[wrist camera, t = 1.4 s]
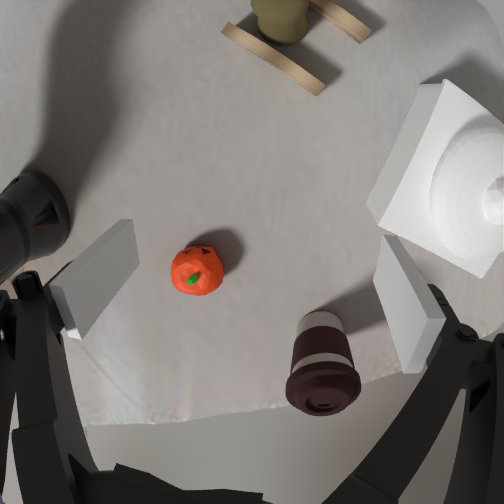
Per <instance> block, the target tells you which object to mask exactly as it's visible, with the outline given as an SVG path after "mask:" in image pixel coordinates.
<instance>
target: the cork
mask: <svg viewBox="0 0 504 504" xmlns="http://www.w3.org/2000/svg"><path fill="white" fill-rule="evenodd" d="M251 6H252V8H253V11H254V13H255V14H256V15H257V16H258V18H257V28H258V30H259V32H260V34H261V35H262V37H263V38H264V39H265V40H267V41H268V42H270V43H272V44H275V45H279V46H288V45H292V44H295V43H297V42H298V41H300V40H302V38H303V37H304V36H305V35H306V33H307V30H308V19H307V16H306V12H307V9H308V6H309V0H251Z"/></svg>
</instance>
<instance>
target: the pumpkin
mask: <svg viewBox="0 0 504 504" xmlns="http://www.w3.org/2000/svg"><path fill="white" fill-rule="evenodd" d="M171 276H172V282H173V284H174V286H175V287H176V288H177V289H178V290H179V291H180V292H183V293H187V294H191V295H197V296H201V295H206V294H209V293H211V292H212V291H214V290H215V289H217V288H218V287H219V286H220V285H221V283H222V281H223V276H224V272H223V266H222V263H221V261H220V259H219V258H218V256H217V254H216V252H215V250H214V249H213V248H212V247H210V246H205V245H192V247H191V246H189V248H188V247H187V248H186V249H184V250H182V251H180V252H179V253H178V254H177V255H176V257H175V259H174V260H173V262H172V266H171Z"/></svg>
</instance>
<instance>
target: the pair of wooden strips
mask: <svg viewBox="0 0 504 504" xmlns="http://www.w3.org/2000/svg"><path fill="white" fill-rule="evenodd" d="M308 7H309V8H310V9H312V10H313V11H315V12H316V13H318V14H319V15H321V16H322V17H324V18H325V19H327V20H328V21H330V22H331V23H333V24H334V25H335V26H337V27H338V28H340V29H341V30H342V31H344V32H345V33H346V34H348V35H349V36H350V37H352V38H353V39H354V40H356V41H357V42H358V43H359V44H360V43H361V42H362V41H363V40H365V39H366V38H367V36H368V35H369V34H370V33H371V32H372V30H371V29H369V28H368V27H367V26H365V25H364V24H363V23H362V22H360V21H359V20H358V19H356V18H355V17H354V16H352V15H351V14H349V13H348V12H347V11H345V10H344V9H342V8H341V7H339V6H338V5H337V4H335V3H334V2H332V1H331V0H309V6H308ZM221 33H222V34H224V35H225V36H226V37H227V38H229V39H231V40H233V41H234V42H236V43H238V44H239V45H241V46H243V47H244V48H246V49H248V50H249V51H251V52H252V53H254V54H256V55H257V56H259V57H260V58H262V59H264V60H265V61H267V62H268V63H270V64H271V65H273V66H274V67H276V68H277V69H279V70H280V71H282V72H283V73H285V74H286V75H287V76H289V77H290V78H292V79H293V80H295V81H296V82H297V83H299V84H300V85H301V86H303V87H304V88H306V89H307V90H308V91H310V92H311V93H312V94H314V95H315V96H318V94H319V93H320V92H321V91H322V90H323V88H324V87H325V86H326V85H324V84H323V83H322V82H320V81H319V80H318V79H316V78H315V77H314V76H312V75H311V74H310V73H308V72H307V71H305V70H304V69H303V68H301V67H300V66H298V65H297V64H296V63H294V62H293V61H291V60H290V59H288V58H287V57H285V56H284V55H282V54H281V53H279V52H278V51H276V50H275V49H273V48H272V47H270V46H268V45H267V44H265V43H264V42H262V41H260V40H259V39H257V38H255V37H254V36H252V35H250V34H249V33H247V32H245V31H244V30H242V29H240V28H238V27H237V26H235V25H233V24H231V23H229V22H228V23H227V25H226V26H225V27H224V28H223V30H222V31H221Z"/></svg>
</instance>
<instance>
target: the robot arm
mask: <svg viewBox="0 0 504 504" xmlns="http://www.w3.org/2000/svg"><path fill="white" fill-rule="evenodd" d="M68 232H69V215H68V210H67V206H66V203H65V201H64V198H63V196H62V194H61V192H60V190H59V189H58V187H57V186H56V185H55V183H54V182H53V181H52V180H51V179H50V178H49V177H47V176H46V175H44V174H42V173H40V172H37V171H29V172H26V173H24V174H21V175H19V176H17V177H16V178H15V179H13V180H12V181H11V183H10V184H9V185H8V186H7V187H6V188H5V189H4V190H3V191H2V193H1V194H0V285H1V284H2V283H3V282H4V281H5V280H7V279H8V278H9V277H10V276H11V275H12V274H13V273H14V272H16V271H17V270H18V269H19V268H20V267H21V266H23V265H24V264H25V263H26V262H28V261H31V260H35V259H38V258H41V257H44V256H49V255H51V254H53V253H54V252H55V251H57V250H58V249H59V248H60V247H61V246H62V245H63V244H64V243H65V241H66V239H67V236H68ZM139 264H140V263H139V257H138V251H137V245H136V238H135V232H134V225H133V220H130V219H121V220H119V221H118V222H117V223H116V224H115V225H113V226H112V227H111V228H110V229H109V230H107V231H106V232H105V233H104V234H103V235H102V236H101V237H99V238H98V239H97V240H96V241H95V242H94V243H93V244H91V245H90V246H89V247H88V248H87V249H86V250H85V251H84V252H82V253H81V254H80V255H79V256H78V257H77V258H76V259H75V260H73V261H71V262H69V263H67V264H66V265H65V266H64V267H63V268H62V269H61V270H60V271H59V272H58V273H57V274H56V275H54V276H53V277H52V278H51V279H50V280H49V281H48V282H47V283H46V284H45V285H44V286H43V287H42V284H41V281H40V278H39V275H38V272H36V271H26V272H23V273H21V274H19V275H18V276H16V277H15V278H14V279H13V281H12V284H13V287H14V289H15V292H16V294H17V297H18V299H10V297H9V295H8V293H7V291H6V290H0V504H5V503H4V502H3V501H2V493H3V487H4V482H5V473H6V461H7V449H8V439H9V431H10V423H11V416H12V410H13V404H14V399H15V393H16V396H17V409H18V420H19V428H17V429H13V431H12V445H13V453H14V460H15V466H16V471H17V477H18V482H19V486H20V491H21V495H22V500H23V504H272V503H270V502H266V501H263V500H262V497H263V493H254V492H245V491H237V490H229V489H214V490H182V489H179V488H177V487H175V486H173V485H171V484H169V483H167V482H165V481H163V480H161V479H159V478H157V477H155V476H153V475H151V474H150V473H147V472H143V471H140V470H136V469H133V468H130V467H127V466H124V465H120V464H118V463H116V466H115V468H114V471H112V470H110V471H109V470H108V471H99V470H98V468H97V467H96V465H95V463H94V461H93V459H92V456H91V453H90V450H89V447H88V444H87V441H86V437H85V434H84V431H83V427H82V424H81V420H80V417H79V413H78V409H77V406H76V402H75V397H74V393H73V389H72V385H71V380H70V375H69V370H68V365H67V360H66V354H65V349H64V342H63V337H62V335H61V333H60V331H61V330H62V329H63V327H65V329H66V331H67V334H68V336H69V337H72V338H76V339H79V340H82V339H83V338H84V336H85V335H86V334H87V332H88V331H89V329H90V328H91V327H92V325H93V324H94V323H95V321H96V320H97V318H98V317H99V316H100V314H101V313H102V312H103V310H104V309H105V308H106V306H107V305H108V304H109V302H110V301H111V300H112V299H113V297H114V296H115V295H116V293H117V292H118V291H119V289H120V288H121V287H122V286H123V284H124V283H125V282H126V280H127V279H128V278H129V277H130V275H131V274H132V273H133V272H134V270H135V269H136V268H137V267H138V265H139ZM373 283H374V285H375V288H376V291H377V293H378V296H379V299H380V302H381V305H382V308H383V310H384V313H385V316H386V319H387V322H388V325H389V328H390V331H391V334H392V338H393V341H394V344H395V347H396V350H397V354H398V357H399V360H400V364H401V367H402V371H403V373H420V372H421V370H422V368H423V366H424V364H425V363H426V364H427V366H428V369H427V370H426V372H425V374H424V376H423V377H422V379H421V380H420V382H419V383H418V385H417V387H416V388H415V390H414V391H413V393H412V395H411V396H410V398H409V399H408V401H407V402H406V404H405V405H404V407H403V408H402V409H401V411H400V412H399V414H398V415H397V417H396V418H395V420H394V421H393V422H392V424H391V425H390V426H389V428H388V429H387V430H386V432H385V433H384V435H383V436H382V437H381V438H380V440H379V441H378V442H377V443H376V445H375V446H374V447H373V449H372V450H371V451H370V452H369V453H368V455H367V456H366V457H365V458H364V460H363V461H362V462H361V463H360V464H359V465H358V467H357V468H356V469H355V470H354V471H353V472H352V473H351V474H350V475H349V476H348V477H347V478H346V479H345V480H344V481H343V482H342V483H341V484H340V485H339V487H338V488H337V489H336V490H335V491H334V492H333V493H332V494H331V495H330V496H329V497H328V498H327V499H326V500H325V501H324V502H323V503H322V504H398V502H399V501H398V499H399V497H400V496H401V494H402V493H403V491H404V490H405V488H406V487H407V485H408V484H409V482H410V481H411V479H412V478H413V476H414V475H415V473H416V472H417V470H418V468H419V467H420V465H421V464H422V462H423V460H424V459H425V457H426V455H427V454H428V452H429V450H430V449H431V447H432V445H433V443H434V441H435V440H436V438H437V436H438V434H439V432H440V430H441V429H442V427H443V425H444V423H445V421H446V419H447V417H448V415H449V413H450V411H451V408H452V406H453V404H454V402H455V400H456V398H457V396H458V393H459V391H460V389H466V398H465V407H464V414H463V420H462V427H461V433H460V438H459V444H458V449H457V453H456V458H455V463H454V467H453V471H452V475H451V479H450V483H449V486H448V490H447V494H446V497H445V500H444V503H443V504H504V333H499V334H497V335H496V337H495V338H494V340H493V342H489V341H485V340H481V339H479V337H478V334H477V332H476V331H475V330H474V329H473V328H471V327H470V326H468V325H465V324H463V323H460V322H459V320H458V318H457V316H456V315H455V313H454V311H453V309H452V308H451V306H449V303H448V301H447V300H446V298H445V296H444V294H443V293H442V291H441V290H440V289H438V288H437V287H436V286H435V285H434V284H427V283H426V282H425V280H424V278H423V277H422V275H421V273H420V272H419V270H418V268H417V267H416V265H415V264H414V262H413V260H412V259H411V257H410V256H409V254H408V252H407V251H406V249H405V248H404V246H403V245H402V243H401V242H400V240H399V239H398V237H397V236H392V235H383V238H382V243H381V248H380V252H379V257H378V261H377V266H376V270H375V274H374V279H373ZM1 337H2V340H1Z"/></svg>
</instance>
